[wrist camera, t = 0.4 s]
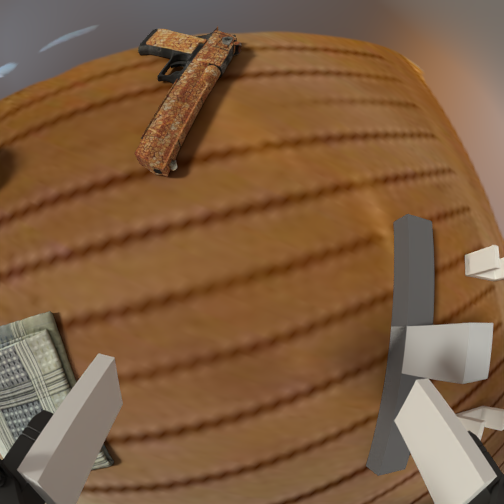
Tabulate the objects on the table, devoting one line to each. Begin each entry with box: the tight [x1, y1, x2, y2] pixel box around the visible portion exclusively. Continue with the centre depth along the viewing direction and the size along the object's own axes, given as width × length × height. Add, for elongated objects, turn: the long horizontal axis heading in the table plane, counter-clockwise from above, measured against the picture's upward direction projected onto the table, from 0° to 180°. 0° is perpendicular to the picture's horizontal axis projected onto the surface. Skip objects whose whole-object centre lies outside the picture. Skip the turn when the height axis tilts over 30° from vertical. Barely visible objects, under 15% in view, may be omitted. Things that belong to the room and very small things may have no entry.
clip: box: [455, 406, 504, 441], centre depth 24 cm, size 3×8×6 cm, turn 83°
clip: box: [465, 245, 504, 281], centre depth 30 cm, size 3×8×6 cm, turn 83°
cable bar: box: [366, 214, 493, 476], centre depth 23 cm, size 30×4×12 cm, turn 173°
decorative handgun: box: [135, 27, 241, 177], centre depth 32 cm, size 3×28×15 cm
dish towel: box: [0, 311, 114, 470], centre depth 20 cm, size 19×18×3 cm
